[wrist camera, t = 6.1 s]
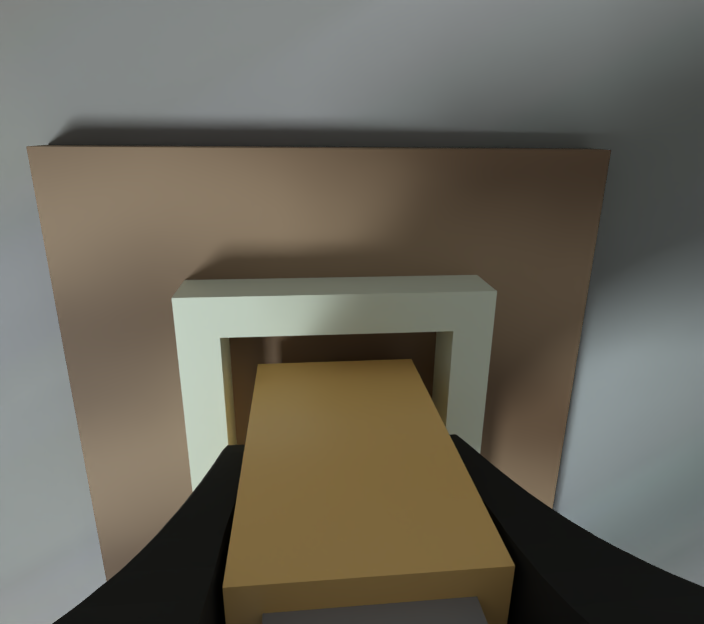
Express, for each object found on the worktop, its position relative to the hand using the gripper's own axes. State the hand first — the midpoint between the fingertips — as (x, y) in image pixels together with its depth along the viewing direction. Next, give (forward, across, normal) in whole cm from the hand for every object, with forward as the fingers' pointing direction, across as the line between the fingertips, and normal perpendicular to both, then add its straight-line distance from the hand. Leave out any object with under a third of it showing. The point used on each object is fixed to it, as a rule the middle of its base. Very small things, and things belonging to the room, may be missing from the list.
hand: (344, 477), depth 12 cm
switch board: (+4, 0, +6) cm, 7 cm away
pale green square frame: (+4, 0, 0) cm, 4 cm away
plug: (+2, 0, 0) cm, 3 cm away
